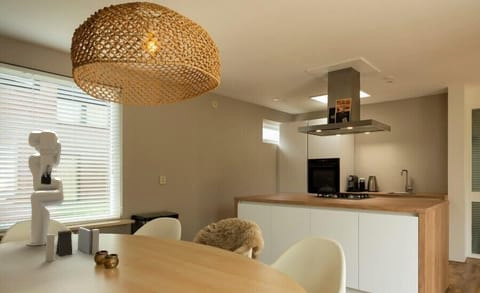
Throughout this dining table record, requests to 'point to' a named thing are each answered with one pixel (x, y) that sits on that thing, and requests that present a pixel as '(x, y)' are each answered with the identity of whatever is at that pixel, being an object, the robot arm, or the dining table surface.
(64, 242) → the phone stand
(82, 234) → the door
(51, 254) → the post
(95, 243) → the hinge post
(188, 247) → the dining table surface
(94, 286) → the dining table surface
